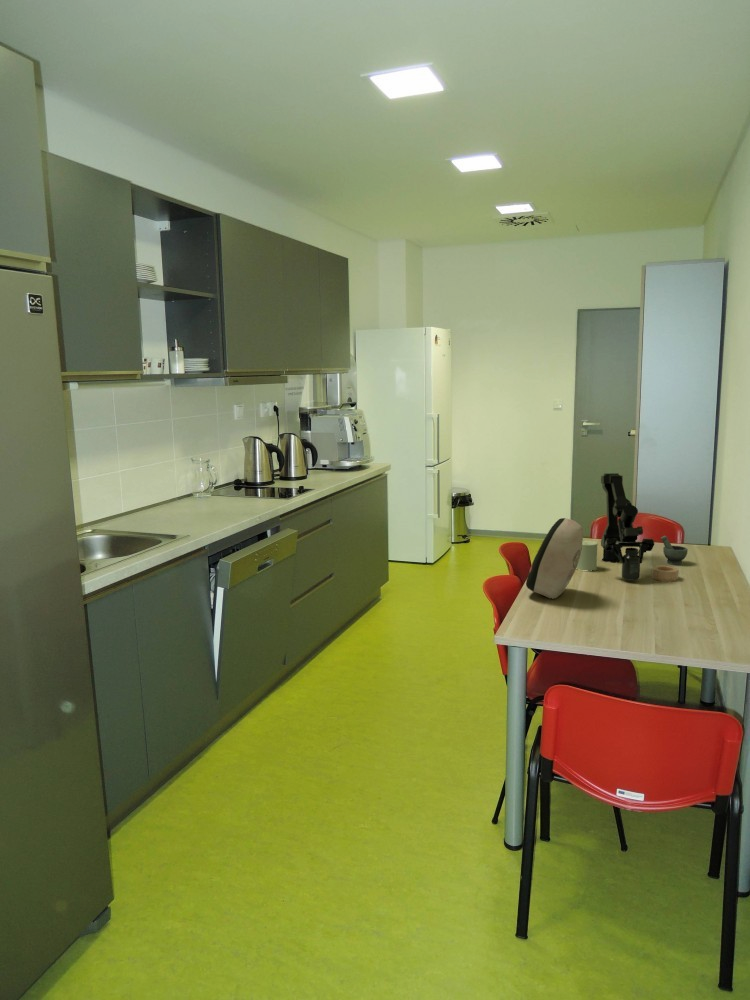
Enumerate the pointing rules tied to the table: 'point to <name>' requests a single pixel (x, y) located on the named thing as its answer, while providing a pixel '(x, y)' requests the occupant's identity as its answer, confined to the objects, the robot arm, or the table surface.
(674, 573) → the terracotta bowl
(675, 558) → the mortar and pestle
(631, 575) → the supplement bottle
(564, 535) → the grey rounded piece
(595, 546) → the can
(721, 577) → the table surface
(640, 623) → the table surface
